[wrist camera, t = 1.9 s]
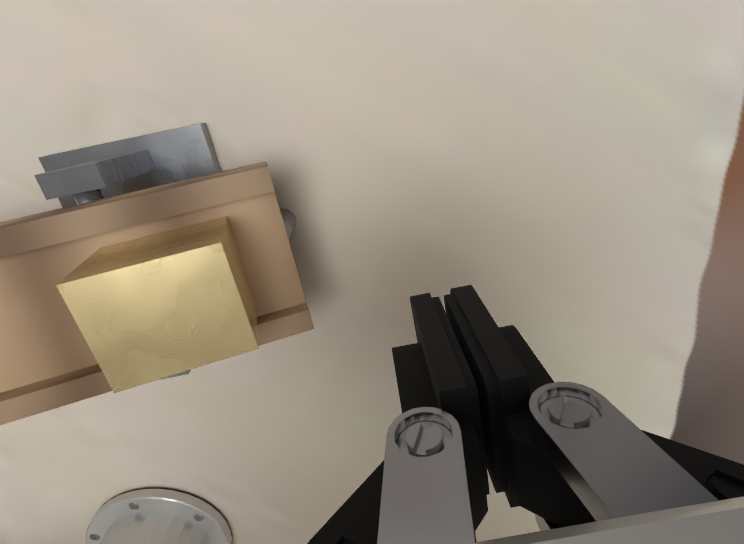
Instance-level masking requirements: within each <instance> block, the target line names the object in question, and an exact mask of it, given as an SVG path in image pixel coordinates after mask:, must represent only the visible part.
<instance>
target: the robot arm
mask: <svg viewBox="0 0 744 544" xmlns="http://www.w3.org/2000/svg"><path fill="white" fill-rule="evenodd" d="M450 292H451V294H448V295H444V302H445V309H446V313H445V310H444V308H443V306H442V303H441V301H440V299H439V297H433V298H432V297H431V295H430V293H426V294H421V295H416V296H411V297H410V301H411V307H412V313H413V319H414V324H415V330H416V336H417V341H418V343H415V344H410V345H405V346H399V347H394V348H392V353H393V359H394V365H395V371H396V377H397V383H398V389H399V396H400V402H401V408H402V414H401V415H400V416H398V417H397V418H396V419H394V421H393V422H392V424H391V425H390V426H389V429H388V433H387V437H386V449H385V460H384V461H383V462H382V463H381V464H380V465H379V466H378V467H377V468H376V469H375V471H374V472H373V473H372V474H371V475H370V476H369V477H368V478H367V479H366V480H365V481H364V482H363V484H362V485H361V486H360V487H359V488H358V489H357V490H356V491H355V492H354V493H353V494H352V495H351V497H350V498H349V499H348V500H347V501H346V502H345V503H344V504H343V505H342V506H341V507H340V508H339V510H338V511H337V512H336V513H335V514H334V515H333V516H332V517H331V518H330V519H329V520H328V521H327V523H326V524H325V525H324V526H323V527H322V528H321V529H320V530H319V531H318V532H317V533H316V534H315V536H314V537H313V538H312V539H311V540H310V541H309V542H308V544H744V465H743V464H740V463H737V462H734V461H731V460H728V459H725V458H722V457H719V456H716V455H713V454H710V453H708V452H705V451H702V450H699V449H696V448H693V447H690V446H687V445H684V444H681V443H678V442H675V441H672V440H669V439H666V438H663V437H660V436H658V435H655V434H652V433H649V432H646V431H643V430H640V429H639V428H638V427H637V426H636V425H635V424H634V423H632V422H631V421H630V420H629V419H628V418H627V417H626V416H625V415H624V414H622V413H621V412H620V411H619V410H618V409H617V408H616V407H615V406H614V405H612V404H611V403H610V402H609V401H608V400H607V399H606V398H605V397H604V396H602V395H601V394H599V393H598V392H597V391H595V390H594V389H591V388H589V387H587V386H584V385H581V384H577V383H572V382H555V383H554V381H553V380H552V378H551V377H550V376H549V374H548V373H547V371H546V370H545V368H544V367H543V366H542V364H541V363H540V361H539V360H538V359H537V357H536V356H535V354H534V353H533V351H532V350H531V349H530V347H529V346H528V344H527V343H526V342H525V340H524V339H523V337H522V336H521V335H520V333H519V332H518V330H517V329H516V328H515V327H514V326H513V325H510V326H505V327H499V328H498V326H497V324H496V323H495V321H494V320H493V318H492V317H491V315H490V313H489V312H488V310H487V309H486V307H485V305H484V304H483V302H482V301H481V299H480V298H479V296H478V294H477V293H476V291H475V290H474V288H473V287H472V285H468V286H462V287H457V288H452V289H451V290H450ZM487 469H488V472H489V475H490V478H491V480H492V483H493V486H494V488H495V491H496V492H497V493H499V492H504V491H505V494H506V497H507V499H508V502H509V504H510V507H517V506H521V507H523V508H525V509H527V510H529V511H531V512H533V513H535V518H536V522H537V524H538V527H539V529H540V531H539V532H534V533H528V534H522V535H517V536H511V537H505V538H499V539H494V540H488V541H482V542H476V535H475V530H476V529H477V527H478V526H479V524H480V522H481V521H482V519H483V518H484V516H485V515H486V513H487V511H488V506H487V497H486V495H487V494H489V484H488V475H487ZM231 543H232V537H231V531H230V528H229V526H228V524H227V522H226V521H225V519H224V518H223V517H222V516H221V514H220V513H219V512H218V511H216V510H215V509H214V508H213V507H212V506H211V505H209V504H207V503H206V502H204V501H202V500H201V499H199V498H196V497H194V496H191V495H189V494H186V493H182V492H178V491H174V490H166V489H142V490H136V491H131V492H128V493H124V494H121V495H119V496H117V497H115V498H113V499H111V500H109V501H108V502H107V503H105V504H104V505H103V506H102V507H100V509H99V510H98V511H97V513H96V514H95V516H94V517H93V519H92V521H91V523H90V524H89V526H88V528H87V532H86V544H231Z"/></svg>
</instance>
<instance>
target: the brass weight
mask: <svg viewBox="0 0 744 544" xmlns="http://www.w3.org/2000/svg"><path fill="white" fill-rule="evenodd" d="M56 286H57V288H58V290H59V292H60V293H61V295H62V297H63V299H64V301H65V303H66V305H67V306H68V308H69V310H70V312H71V314H72V316H73V318H74V319H75V321H76V323H77V325H78V327H79V329H80V331H81V332H82V334H83V336H84V338H85V340H86V342H87V344H88V345H89V347H90V349H91V351H92V353H93V355H94V357H95V358H96V360H97V362H98V364H99V366H100V368H101V370H102V371H103V373H104V375H105V377H106V379H107V381H108V383H109V384H110V386H111V388H112V390H113V392H114V393H116V392H119V391H123V390H126V389H129V388H132V387H136V386H139V385H142V384H145V383H148V382H152V381H155V380H158V379H161V378H165V377H168V376H171V375H174V374H178V373H181V372H184V371H187V370H190V369H194V368H197V367H200V366H203V365H207V364H210V363H213V362H216V361H220V360H223V359H226V358H229V357H232V356H236V355H239V354H242V353H245V352H249V351H252V350H255V349H258V328H257V306H256V301H255V298H254V295H253V292H252V289H251V286H250V283H249V280H248V277H247V274H246V271H245V268H244V265H243V262H242V259H241V256H240V253H239V250H238V247H237V245H236V242H235V239H234V236H233V233H232V230H231V227H230V224H229V221H228V218H227V216H225V217H221V218H217V219H213V220H209V221H205V222H201V223H197V224H193V225H189V226H185V227H181V228H177V229H173V230H169V231H165V232H161V233H157V234H153V235H149V236H145V237H141V238H137V239H133V240H129V241H125V242H121V243H117V244H113V245H109V246H105V247H101V248H99V249H98V250H97V251H95V252H94V253H93V254H92V255H91V256H90V257H88V258H87V259H86V260H85V261H84V262H83V263H81V264H80V265H79V266H78V267H77V268H76V269H74V270H73V271H72V272H71V273H70V274H69V275H68V276H66V277H65V278H64V279H63V280H62V281H61V282H59V283H58V284H57V285H56Z"/></svg>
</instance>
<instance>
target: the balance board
mask: <svg viewBox="0 0 744 544" xmlns="http://www.w3.org/2000/svg"><path fill="white" fill-rule="evenodd" d="M225 216H227V218H228V221H229V224H230V227H231V230H232V233H233V236H234V239H235V242H236V245H237V247H238V250H239V253H240V256H241V259H242V262H243V265H244V268H245V271H246V274H247V277H248V280H249V283H250V286H251V289H252V292H253V295H254V298H255V301H256V306H257V328H258V346H259V345H262V344H265V343H268V342H272V341H275V340H278V339H281V338H285V337H288V336H291V335H294V334H298V333H301V332H304V331H307V330H311V329H314V327H313V323H312V320H311V316H310V313H309V309H308V306H307V303H306V299H305V296H304V292H303V289H302V285H301V282H300V278H299V275H298V271H297V268H296V264H295V261H294V257H293V254H292V250H291V247H290V243H289V240H288V236H287V233H286V229H285V226H284V222H283V219H282V215H281V212H280V208H279V205H278V201H277V198H276V194H275V190H274V186H273V183H272V179H271V176H270V172H269V169H268V166H267V163H266V162H261V163H257V164H253V165H248V166H244V167H240V168H235V169H231V170H227V171H222V172H218V173H213V174H209V175H205V176H200V177H196V178H192V179H187V180H183V181H179V182H174V183H170V184H166V185H161V186H157V187H152V188H148V189H144V190H139V191H135V192H131V193H126V194H122V195H118V196H113V197H109V198H104V199H100V200H96V201H91V202H87V203H83V204H78V205H74V206H70V207H65V208H61V209H57V210H52V211H48V212H43V213H39V214H35V215H30V216H26V217H22V218H17V219H13V220H9V221H4V222H0V425H2V424H6V423H9V422H12V421H15V420H19V419H22V418H25V417H28V416H32V415H35V414H38V413H41V412H45V411H48V410H51V409H54V408H58V407H61V406H64V405H67V404H71V403H74V402H77V401H80V400H84V399H87V398H90V397H93V396H97V395H100V394H103V393H106V392H109V391H113V390H112V388H111V386H110V384H109V383H108V381H107V379H106V377H105V375H104V373H103V371H102V370H101V368H100V366H99V364H98V362H97V360H96V358H95V357H94V355H93V353H92V351H91V349H90V347H89V345H88V344H87V342H86V340H85V338H84V336H83V334H82V332H81V331H80V329H79V327H78V325H77V323H76V321H75V319H74V318H73V316H72V314H71V312H70V310H69V308H68V306H67V305H66V303H65V301H64V299H63V297H62V295H61V293H60V292H59V290H58V288H57V286H56V285H57V284H58V283H59V282H61V281H62V280H63V279H64V278H65V277H66V276H68V275H69V274H70V273H71V272H72V271H73V270H74V269H76V268H77V267H78V266H79V265H80V264H81V263H83V262H84V261H85V260H86V259H87V258H88V257H90V256H91V255H92V254H93V253H94V252H95V251H97V250H98V249H99V248H101V247H105V246H109V245H113V244H117V243H121V242H125V241H129V240H133V239H137V238H141V237H145V236H149V235H153V234H157V233H161V232H165V231H169V230H173V229H177V228H181V227H185V226H189V225H193V224H197V223H201V222H205V221H209V220H213V219H217V218H221V217H225Z"/></svg>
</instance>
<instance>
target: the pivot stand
mask: <svg viewBox="0 0 744 544" xmlns="http://www.w3.org/2000/svg"><path fill="white" fill-rule="evenodd" d="M39 160H40V162H41V164H42V166H43V168H44V170H45V172H46V173H42V174H38V175H34V176H35V178H36V180H37V182H38V184H39V186H40V188H41V190H42V192H43V194H44V195H45V197H46V199H47V200H48V199H52V198H57V197H58V199H59V201H60V203H61V205H62V207H63V208H65V207H70V206H74V205H78V204H83V203H87V202H91V201H96V200H100V199H104V198H109V197H113V196H118V195H122V194H126V193H131V192H135V191H139V190H144V189H148V188H152V187H157V186H161V185H166V184H170V183H174V182H179V181H183V180H187V179H192V178H196V177H200V176H205V175H209V174H213V173H218V172H222V171H221V168H220V165H219V162H218V159H217V156H216V153H215V150H214V147H213V144H212V141H211V138H210V135H209V132H208V129H207V126H206V123H201V124H196V125H191V126H186V127H182V128H177V129H172V130H167V131H163V132H158V133H153V134H148V135H144V136H139V137H134V138H129V139H124V140H120V141H115V142H110V143H105V144H101V145H96V146H91V147H86V148H82V149H77V150H72V151H67V152H63V153H58V154H53V155H48V156H44V157H39ZM280 212H281V215H282V219H283V222H284V226H285V229H286V233H287V236H288V240H289V238H290V236H291V234H292V231H293V229H294V226H295V223H296V220H295V217H294V215H293V214H292V213H291V212H290V211H288V210H284V209H282V210H280ZM190 370H191V369H190ZM190 370H187V371H184V372H181V373H178V374H174V375H171V376H168V377H165V378H170V377H175V376H180V375H185V374H189V372H190ZM165 378H161V379H165ZM158 380H159V379H158Z"/></svg>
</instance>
